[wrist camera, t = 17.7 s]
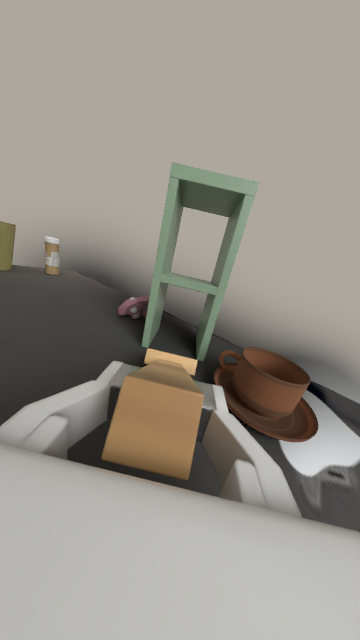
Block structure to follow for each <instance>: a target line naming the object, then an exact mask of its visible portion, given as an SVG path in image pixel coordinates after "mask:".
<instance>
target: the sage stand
mask: <svg viewBox="0 0 360 640" xmlns="http://www.w3.org/2000/svg"><path fill="white" fill-rule="evenodd" d="M258 184H259V183H258V182H254V181H250V180H246V179H242V178H237V177H233V176H228V175H224V174H220V173H216V172H212V171H207V170H203V169H199V168H194V167H190V166H186V165H182V164H178V163H172V167H171V173H170V179H169V185H168V191H167V197H166V203H165V209H164V214H163V221H162V227H161V233H160V238H159V245H158V250H157V256H156V262H155V269H154V274H153V280H152V286H151V292H150V298H149V304H148V310H147V315H146V321H145V327H144V333H143V339H142V345H141V346H142V347H145V348H148V347H149V345H150V343H151V342H152V340H153V338H154V336H155V335H156V333H157V331H158V329H159V327H160V322H161V317H162V312H163V307H164V302H165V296H166V292H167V287H168V284H170V285H174V286H179V287H183V288H187V289H191V290H195V291H199V292H204V293H208V295H207V299H206V302H205V306H204V309H203V313H202V316H201V320H200V324H199V327H198V331H197V334H196V354H197V360H199V361H204V358H205V355H206V352H207V348H208V345H209V342H210V339H211V335H212V332H213V329H214V326H215V323H216V319H217V316H218V313H219V310H220V306H221V303H222V300H223V297H224V293H225V290H226V287H227V284H228V281H229V277H230V274H231V271H232V268H233V265H234V261H235V258H236V255H237V252H238V249H239V245H240V242H241V239H242V236H243V233H244V229H245V226H246V223H247V220H248V216H249V213H250V210H251V207H252V203H253V200H254V197H255V194H256V190H257V187H258ZM183 207H187V208H192V209H196V210H200V211H204V212H208V213H213V214H217V215H221V216H225V217H229V220H228V223H227V227H226V231H225V234H224V238H223V242H222V245H221V248H220V252H219V255H218V259H217V263H216V267H215V270H214V273H213V278H212V281H211V282H208V281H204V280H200V279H196V278H192V277H187V276H183V275H178V274H175V273H170V272H171V266H172V261H173V256H174V251H175V246H176V241H177V236H178V231H179V226H180V221H181V216H182V211H183Z"/></svg>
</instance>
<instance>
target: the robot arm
mask: <svg viewBox="0 0 360 640" xmlns="http://www.w3.org/2000/svg"><path fill="white" fill-rule="evenodd" d="M138 369H141V367H137V366H133V365H130V364H126V363H122V362H118V361H113V362H111V364H110V365H109V366H108V367H107V368H106V369H105V370H104V372H103V373H102V374H101V375H100V376H99V377H98V378H97V379H96V381H93V380H92V381H89V382H86V383H84V384H81V385H78V386H76V387H73V388H71V389H68V390H65V391H63V392H60V393H58V394H55V395H52V396H50V397H47V398H45V399H42V400H39V401H37V402H34V403H32V404H29V405H26V406H24V407H23V408H22V409H21V410H20V411H18V412H17V413H16V414H15V415H13V416H12V417H11V418H10V419H8V420H7V421H6V422H5V423H4V424H2V425H1V426H0V640H360V532H358V531H354V530H350V529H346V528H342V527H338V526H334V525H330V524H326V523H322V522H317V521H313V520H309V519H305V518H302V516H301V514H300V511H299V509H298V507H297V504H296V502H295V500H294V498H293V495H292V493H291V491H290V488H289V486H288V484H287V481H286V479H285V477H284V475H283V472H282V470H281V468H280V467H279V466H278V465H277V464H276V463H275V462H274V460H273V459H272V458H271V457H270V456H269V455H268V454H267V453H266V451H265V450H264V449H263V448H262V447H261V446H260V445H259V444H258V443H257V441H256V440H255V439H254V438H253V437H252V436H251V435H250V434H249V432H248V431H247V430H246V429H245V428H244V427H243V426H242V425H241V423H240V422H239V421H238V420H237V419H236V418H235V417H234V416H233V414H229V411H228V407H227V403H226V399H225V395H224V391H223V388H222V387H221V386H218V385H213V384H207V383H203V382H198V381H194V380H193V381H194V382H195V383H196V385H197V386H198V387H199V389H200V390H201V391H202V393H203V394H204V401H203V406H202V411H201V417H200V422H199V427H198V432H197V438H196V440H197V441H201V444H202V446H203V448H204V450H205V452H206V454H207V456H208V458H209V460H210V462H211V464H212V466H213V469H214V471H215V473H216V475H217V477H218V479H219V481H220V483H221V485H222V489H221V491H220V493H219V495H218V497H215V496H211V495H207V494H203V493H199V492H195V491H191V490H187V489H183V488H179V487H174V486H170V485H166V484H162V483H158V482H154V481H150V480H146V479H142V478H138V477H134V476H130V475H126V474H122V473H118V472H113V471H109V470H105V469H101V468H97V467H93V466H89V465H85V464H81V463H77V462H73V461H69V460H67V450H68V449H69V448H70V447H72V446H73V445H74V444H76V443H77V442H78V441H80V440H81V439H82V438H84V437H85V436H86V435H88V434H89V433H90V432H92V431H93V430H94V429H96V428H97V427H98V426H100V425H101V424H102V423H104V422H105V421H106V420H107V419H111V420H112V417H113V414H114V410H115V407H116V403H117V400H118V396H119V393H120V389H121V386H122V383H123V379H124V377H125V376H126V375H128V374H130V373H132V372H134V371H136V370H138Z"/></svg>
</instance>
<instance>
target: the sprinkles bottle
mask: <svg viewBox="0 0 360 640" xmlns="http://www.w3.org/2000/svg"><path fill="white" fill-rule="evenodd" d="M44 241H45V273H47V274H50V275H59V243H60V242H59V239H56V238H52V237H47V236H44Z"/></svg>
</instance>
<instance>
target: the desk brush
mask: <svg viewBox="0 0 360 640" xmlns="http://www.w3.org/2000/svg"><path fill="white" fill-rule="evenodd" d="M197 361H198V360H195V359H192V358H188V357H184V356H179V355H175V354H171V353H167V352H163V351H159V350H154V349H149V348H148V349H147V353H146V357H145V360H144V363H145V364H146V366H145V367H143V368H141V369H138V370H136V371H134V372H132V373H130V374H128V375H126V376H125V377H124V379H123V383H122V386H121V389H120V393H119V396H118V400H117V403H116V407H115V410H114V414H113V417H112V421H111V424H110V427H109V431H108V434H107V438H106V441H105V445H104V448H103V452H102V455H101V459H102V460H104V461H108V462H112V463H116V464H120V465H124V466H128V467H133V468H137V469H141V470H145V471H149V472H153V473H157V474H161V475H165V476H169V477H173V478H177V479H181V480H188V478H189V474H190V469H191V464H192V459H193V453H194V448H195V443H196V438H197V432H198V427H199V422H200V417H201V411H202V406H203V401H204V394H203V393H202V391H201V390H200V389H199V387H198V386H197V385H196V383H195V382H194V381H193V379H192V378H191V377H192V375H195V371H196V366H197Z"/></svg>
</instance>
